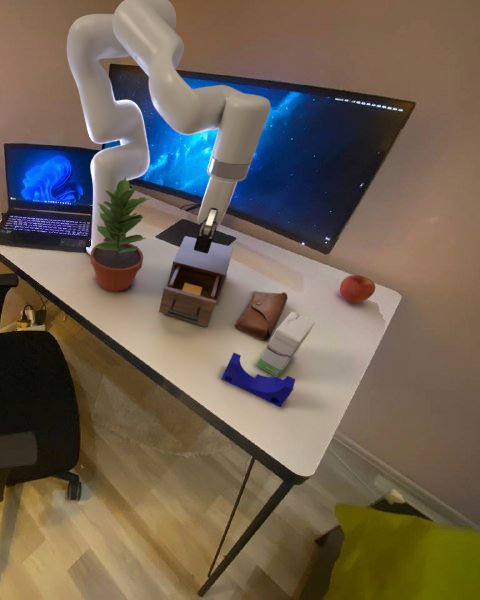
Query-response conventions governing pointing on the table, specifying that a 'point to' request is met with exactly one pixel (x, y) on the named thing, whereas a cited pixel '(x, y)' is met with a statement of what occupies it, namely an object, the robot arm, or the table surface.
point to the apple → (356, 288)
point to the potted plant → (118, 241)
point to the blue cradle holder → (258, 382)
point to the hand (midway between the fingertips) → (204, 240)
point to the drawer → (190, 296)
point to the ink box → (285, 343)
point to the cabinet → (203, 260)
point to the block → (192, 289)
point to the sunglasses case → (262, 314)
